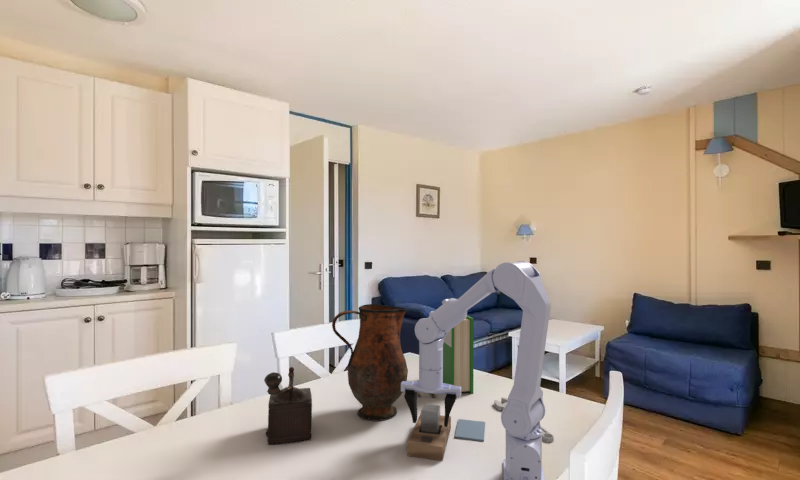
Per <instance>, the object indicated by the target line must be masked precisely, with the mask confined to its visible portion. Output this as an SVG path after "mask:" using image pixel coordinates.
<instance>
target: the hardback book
mask: <svg viewBox="0 0 800 480" xmlns="http://www.w3.org/2000/svg"><path fill="white" fill-rule="evenodd" d="M474 320H475V318H474V317H471V316H470V315H468V314H467V317H466V318H465V319H464V320H463V321H462V322H460V323H459V324H458V325H456V326H455V327H454V328H452V329H451V330H450V331H448V332H447V335H446V336H445V338H444V341H443V383H445V384H450V385H454V386H461V393H462V392H468V393H469V394H471V395H472V394H474V361H475V360H474V358H475V357H474V351H475V349H474V338H475V337H474V330H475V329H474V326H475V325H474V324H475V323H474V322H475V321H474Z"/></svg>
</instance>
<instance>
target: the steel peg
mask: <svg viewBox="0 0 800 480" xmlns="http://www.w3.org/2000/svg"><path fill="white" fill-rule="evenodd" d="M420 414H421V433H430V434H438V435H440V415H441V405H438V404H437V405H436V404H428V403H424V404H423V405H422V408H421V410H420Z"/></svg>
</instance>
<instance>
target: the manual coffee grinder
mask: <svg viewBox="0 0 800 480" xmlns="http://www.w3.org/2000/svg"><path fill="white" fill-rule="evenodd" d="M294 377H295V368H294V367H293V366H291V367H289V368H288V386H285V387H284V388H282V389H280V384H281V383H282V381H283V376H282V375H281V373H279V372H273V371H272V372H270V373H269V374H267V375H265V377H264V380H263V381H264V383H265V385H266V386H267V390H266V392H267V393H268V395H269V400H268V413H267V429H266V430H265V436H266V437H267V441H266V442H267V444H268V445H284V444H285V445H286V444H294V443H301V442H307V441H311V440H312V434H313V433H312V425H313V424H312V423H313V422H312V421H313V420H312V419H313V417H312V416H313V413H312V412H313V397H312V391H311V388H310V387H300V388H298V387H295V386H294Z"/></svg>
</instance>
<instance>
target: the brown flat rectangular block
mask: <svg viewBox="0 0 800 480" xmlns="http://www.w3.org/2000/svg"><path fill="white" fill-rule="evenodd" d="M444 420H445V415H442V414H440V435H438V434H430V433H421V413H420V414H419V416H418V417H417V421H416V423H415V425H414V427H413V429H412V432H411V433H410V435H409V438H408V440H407V442H406V456H407V457H410V458H411V457H413V458H420V459H426V460H427V459H428V460H435V461H442V462H443V461H444V458H445V457H444V456H445V453H446V449H447V446H448V441H449V437H450V433H451V431H452V430H451V428H452V415H451V416H450V415H449V421H448V426H447V427H444Z"/></svg>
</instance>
